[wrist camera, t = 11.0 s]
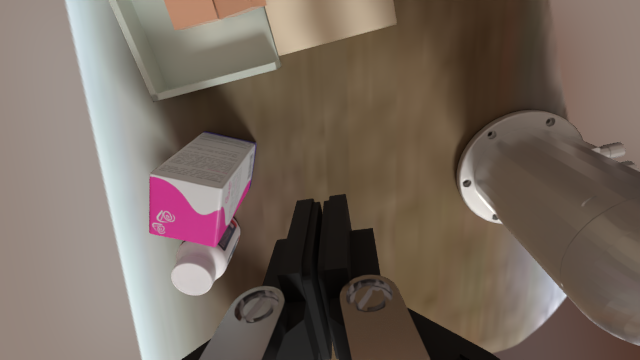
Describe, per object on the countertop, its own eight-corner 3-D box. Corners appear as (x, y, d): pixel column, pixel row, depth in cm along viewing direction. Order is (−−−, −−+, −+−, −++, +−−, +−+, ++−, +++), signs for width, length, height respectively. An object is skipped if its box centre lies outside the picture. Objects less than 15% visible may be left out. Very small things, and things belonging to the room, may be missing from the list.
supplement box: (202, 129, 35) (147, 171, 25) (257, 141, 36) (227, 187, 25) (198, 178, 38) (146, 235, 27) (250, 190, 38) (219, 250, 28)
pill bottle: (191, 212, 39) (155, 259, 31) (235, 207, 39) (209, 253, 31) (204, 249, 42) (173, 302, 33) (245, 245, 41) (224, 298, 33)
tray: (231, -112, 27) (219, -128, 24) (281, 66, 33) (276, 69, 30) (99, -67, 29) (74, -77, 26) (167, 96, 34) (153, 101, 31)
